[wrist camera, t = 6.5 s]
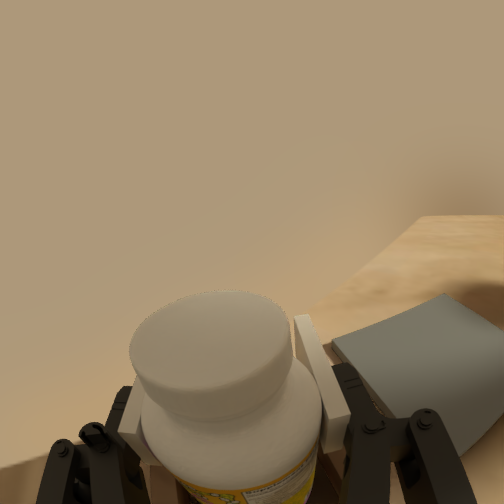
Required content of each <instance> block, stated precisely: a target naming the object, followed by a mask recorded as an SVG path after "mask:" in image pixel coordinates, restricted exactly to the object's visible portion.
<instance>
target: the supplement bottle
mask: <svg viewBox="0 0 504 504" xmlns="http://www.w3.org/2000/svg"><path fill="white" fill-rule="evenodd" d="M129 353H130V359H131V362H132V365H133V367H134V369H135V372H136V374H137V376H138V378H139V380H140V382H141V384H142V386H143V388H144V390H145V392H146V393H145V396H144V398H143V403H142V408H141V424H142V430H143V433H144V436H145V439H146V441H147V443H148V445H149V447H150V449H151V450H152V452H153V453H154V455H155V456H156V457H157V458H158V460H159V461H160V462H161V463H162V464H163V466H164V467H165V468H166V469H167V470H168V471H169V472H170V473H171V474H172V475H173V476H174V477H175V478H176V479H177V480H178V481H179V483H180V484H181V485H182V486H183V487H184V488H185V489H186V490H187V491H188V492H189V493H190V494H191V495H192V496H194V497H195V498H196V499H197V500H198V501H199V502H200V503H201V504H305V503H306V501H307V500H308V498H309V495H310V493H311V489H312V486H313V480H314V473H315V466H316V459H317V451H318V443H319V436H320V428H321V418H322V401H321V396H320V392H319V388H318V386H317V384H316V381H315V379H314V378H313V376H312V375H311V373H310V372H309V371H308V369H307V368H306V367H305V366H304V365H303V364H302V363H301V362H300V361H299V360H298V359H296V358H295V357H294V356H293V350H292V343H291V334H290V325H289V321H288V318H287V316H286V314H285V312H284V311H283V310H282V308H281V307H280V306H279V305H277V304H276V303H275V302H274V301H272V300H270V299H268V298H267V297H264V296H262V295H259V294H255V293H250V292H245V291H236V290H225V291H224V290H223V291H211V292H205V293H200V294H195V295H192V296H188V297H185V298H182V299H179V300H177V301H175V302H172V303H170V304H168V305H166V306H164V307H163V308H161V309H159V310H157V311H156V312H154V313H153V314H152V315H150V316H149V317H148V318H146V319H145V320H144V321H143V322H142V323H141V324H140V326H139V327H138V328H137V330H136V331H135V333H134V335H133V337H132V339H131V343H130V349H129Z"/></svg>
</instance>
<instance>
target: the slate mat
mask: <svg viewBox="0 0 504 504" xmlns="http://www.w3.org/2000/svg"><path fill="white" fill-rule="evenodd" d="M332 349H333V350H334V351H335V353H336V354H337V355H338V356H339V358H340V359H341V360H342V361H343V363H346V362H348V363H349V364H350V365H352V366H353V367H354V368H355V369H356V370H357V372H358V374H359V376H360V379H361V380H362V382H363V385H364V386H365V388H366V390H367V392H368V394H369V395H370V397H371V398H372V399H373V401H374V402H375V403H376V404H377V406H378V407H379V408H380V409H381V411H382V412H383V413H384V414H385V416H386V417H387V418H395V419H396V418H408V417H411V416H412V414H413V413H414V412H415V411H417V410H419V409H424V408H428V409H432V410H434V411H436V412H437V413H438V414H439V416H440V417H441V419H442V421H443V423H444V425H445V428H446V430H447V432H448V434H449V436H450V438H451V440H452V442H453V445H454V447H455V449H456V451H457V453H458V456H459V458H460V457H461V456H462V455H463V454H464V453H465V452H466V451H467V450H469V449H470V448H471V447H472V446H473V445H474V444H475V443H476V442H477V441H478V440H479V439H480V438H481V437H482V436H483V435H484V434H485V433H486V432H487V431H488V430H489V429H490V428H491V427H492V426H493V425H494V424H495V423H496V421H497V420H498V419H499V418H500V417H501V416H502V415H503V414H504V331H503V330H501V329H500V328H498V327H497V326H495V325H494V324H492V323H491V322H489V321H488V320H486V319H485V318H483V317H481V316H480V315H478V314H477V313H475V312H474V311H472V310H471V309H469V308H467V307H466V306H464V305H463V304H461V303H459V302H458V301H456V300H454V299H453V298H451V297H450V296H448V295H446V294H445V293H444V294H442V295H440V296H438V297H435V298H433V299H431V300H429V301H427V302H425V303H423V304H421V305H418V306H416V307H414V308H412V309H409V310H407V311H405V312H403V313H400V314H398V315H395V316H393V317H391V318H388V319H386V320H383V321H381V322H378V323H376V324H373V325H371V326H368V327H365V328H363V329H360V330H357V331H355V332H352V333H349V334H346V335H343V336H341V337H338V338H335V339H332Z"/></svg>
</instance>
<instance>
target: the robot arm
mask: <svg viewBox="0 0 504 504" xmlns="http://www.w3.org/2000/svg"><path fill="white" fill-rule="evenodd" d="M294 330H295V350H296V358H297V359H298V360H299V361H300V362H301V363H302V364H303V365H304V366H305V367H306V368H307V369H308V371H309V372H310V373H311V375H312V376H313V378H314V379H315V381H316V384H317V386H318V388H319V392H320V396H321V401H322V418H321V428H320V436H319V438H320V442H321V445H322V449H323V453H324V454H325V453H329V452H333V451H337V450H341V449H342V447H343V444H344V447H345V450H346V455H345V458H344V461H343V464H344V471H343V478H342V486H341V492H340V499H339V504H389V497H390V462H394V464H395V467H396V470H397V474H398V477H399V481H400V484H401V488H402V492H403V495H404V499H405V503H406V504H477V501H476V498H475V496H474V493H473V490H472V488H471V485H470V482H469V480H468V477H467V475H466V472H465V470H464V467H463V465H462V463H461V460H460V458H459V456H458V453H457V451H456V449H455V447H454V445H453V442H452V440H451V438H450V436H449V434H448V432H447V430H446V428H445V425H444V423H443V421H442V419H441V417H440V416H439V414H438V413H437V412H436V411H434V410H432V409H428V408H424V409H419V410H417V411H415V412H414V413H413V414H412V416H411V417H408V418H396V419H395V418H387V417H385V416H384V415H381V414H380V413H379V412H378V411H377V410H376V408H375V406H374V404H373V402H372V400H371V398H370V396H369V394H368V392H367V390H366V388H365V386H364V385H363V382H362V380H361V379H360V376H359V374H358V372H357V370H356V369H355V368H354V367H353V366H352V365H350V364H349V363H348V362H346V363H342V364H338V365H334V366H331V365H330V363H329V360H328V358H327V356H326V353H325V351H324V349H323V346H322V344H321V342H320V339H319V337H318V335H317V332H316V330H315V328H314V326H313V323H312V321H311V319H310V317H309V314H304V315H298V316H294ZM145 393H146V392H145V390H144V388H143V386H142V384H141V382H140V380H139V378H138V376H136V379H135V381H134V384H133V386H123V387H122V389H121V390H120V391H119V392H118V393H117V395H116V398H115V400H114V403H113V405H112V410H111V411H110V413H109V416H108V419H107V421H106V424H105V427H104V426H103V424H101V423H98V422H91V423H88V424H86V425H85V426H83V427H82V429H81V430H80V432H79V437H80V438H81V440H82V441H83V442H84V443H85V444H82V445H73V443H72V442H71V441H70V440H67V439H60V440H57V441H56V442H55V443H54V444H53V446H52V447H51V450H50V453H49V456H48V459H47V463H46V466H45V469H44V473H43V477H42V480H41V484H40V488H39V492H38V496H37V501H36V504H151V503H150V500H149V496H148V492H147V487H146V483H145V478H144V474H143V470H142V468H141V467H140V466H139V465H140V460H142V461H143V462H144V463H145V464H146V465H156V466H162V463H161V462H160V461H159V460H158V458H157V457H156V456H155V455H154V453H153V452H152V450H151V449H150V447H149V445H148V443H147V441H146V439H145V436H144V433H143V430H142V424H141V408H142V403H143V398H144V396H145ZM75 478H76V479H75Z"/></svg>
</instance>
